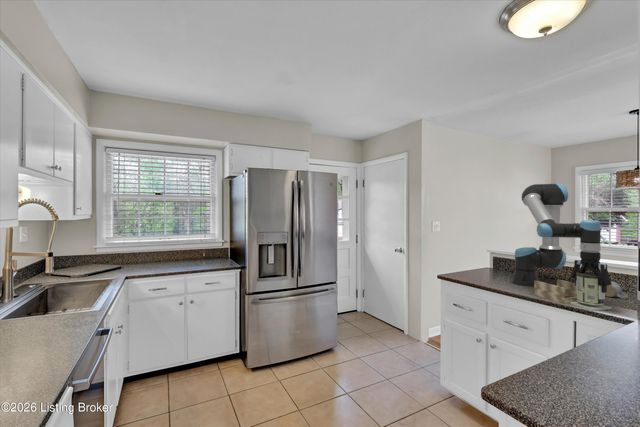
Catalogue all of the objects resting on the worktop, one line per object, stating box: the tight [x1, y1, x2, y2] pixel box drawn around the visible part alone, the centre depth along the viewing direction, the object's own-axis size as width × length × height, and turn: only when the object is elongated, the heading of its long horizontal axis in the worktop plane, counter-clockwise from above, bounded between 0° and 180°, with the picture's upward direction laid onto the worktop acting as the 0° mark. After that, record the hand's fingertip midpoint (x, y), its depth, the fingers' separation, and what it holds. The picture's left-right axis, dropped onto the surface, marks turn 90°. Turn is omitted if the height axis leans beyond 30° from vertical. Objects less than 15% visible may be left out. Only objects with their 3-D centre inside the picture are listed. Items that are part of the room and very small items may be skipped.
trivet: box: [569, 301, 613, 311], centre depth 150 cm, size 11×11×1 cm
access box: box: [533, 278, 577, 305], centre depth 164 cm, size 17×16×8 cm
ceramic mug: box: [605, 281, 629, 300], centre depth 165 cm, size 11×8×8 cm
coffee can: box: [576, 271, 605, 305], centre depth 150 cm, size 10×10×14 cm
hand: (590, 295), depth 150 cm, fingers closed on coffee can, 10 cm apart
